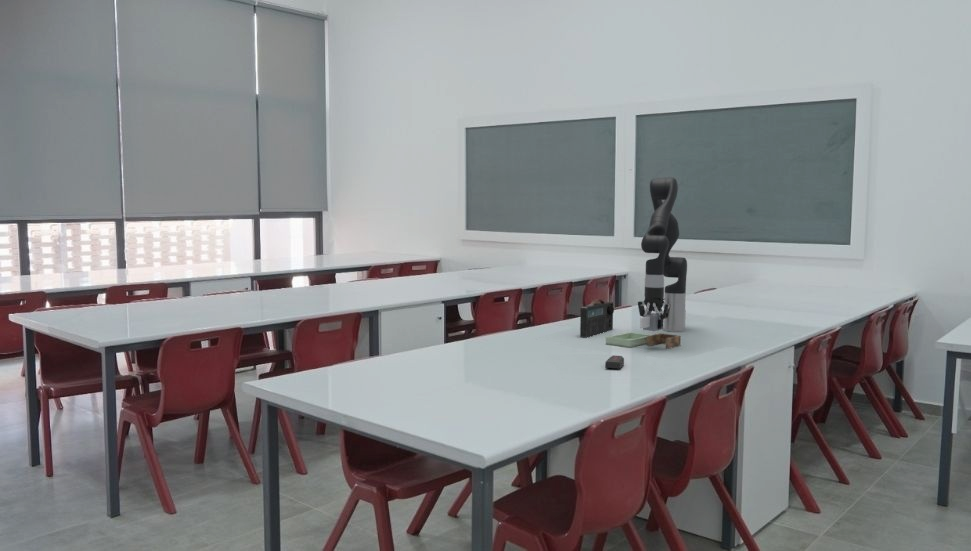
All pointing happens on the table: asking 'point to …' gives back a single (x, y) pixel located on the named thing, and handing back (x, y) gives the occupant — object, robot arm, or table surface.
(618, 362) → the usb drive
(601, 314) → the radio
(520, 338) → the table surface
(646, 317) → the grey block with stick
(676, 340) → the u-shaped wooden frame
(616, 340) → the tray
